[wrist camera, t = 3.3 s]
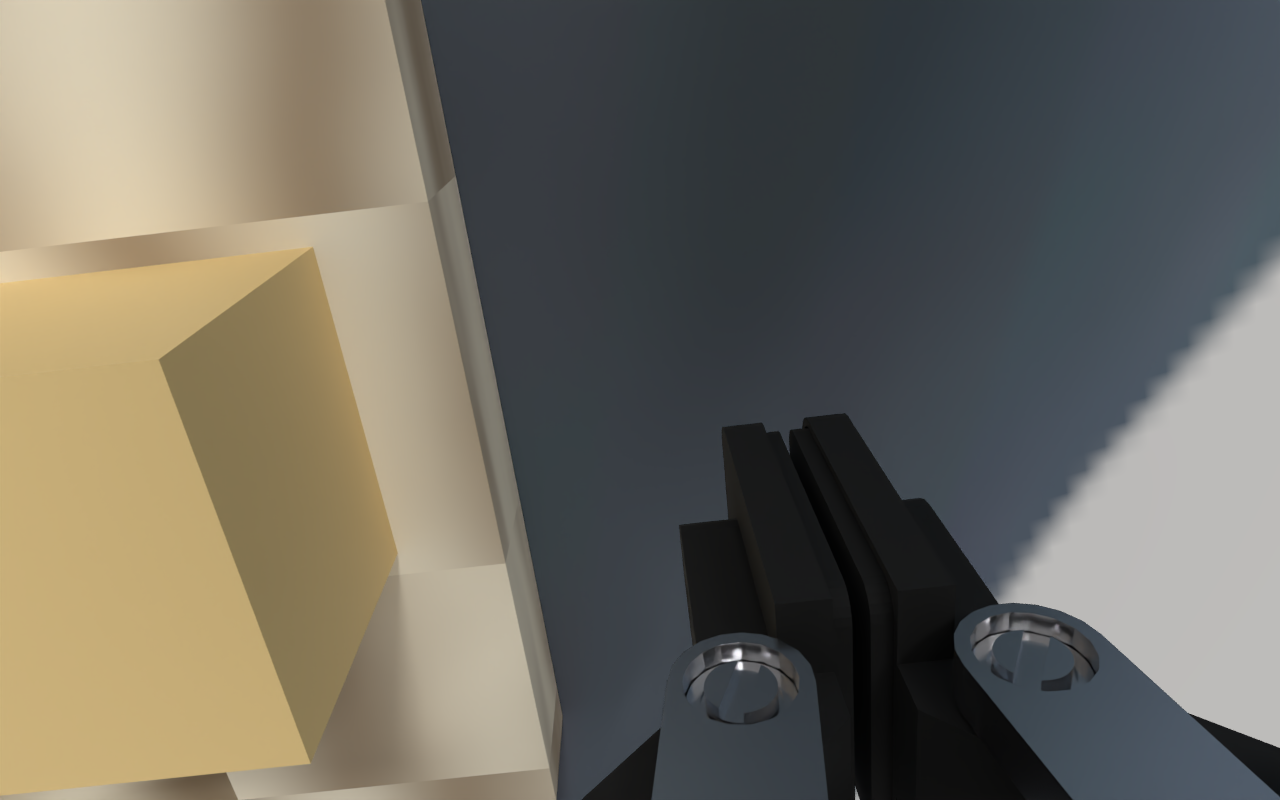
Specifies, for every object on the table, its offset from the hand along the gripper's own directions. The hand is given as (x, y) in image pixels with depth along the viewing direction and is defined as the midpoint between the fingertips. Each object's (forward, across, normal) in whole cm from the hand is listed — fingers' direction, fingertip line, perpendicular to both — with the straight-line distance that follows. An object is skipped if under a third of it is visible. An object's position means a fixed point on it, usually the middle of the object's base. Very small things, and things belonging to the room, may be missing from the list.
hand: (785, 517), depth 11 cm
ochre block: (+4, +10, -1) cm, 11 cm away
